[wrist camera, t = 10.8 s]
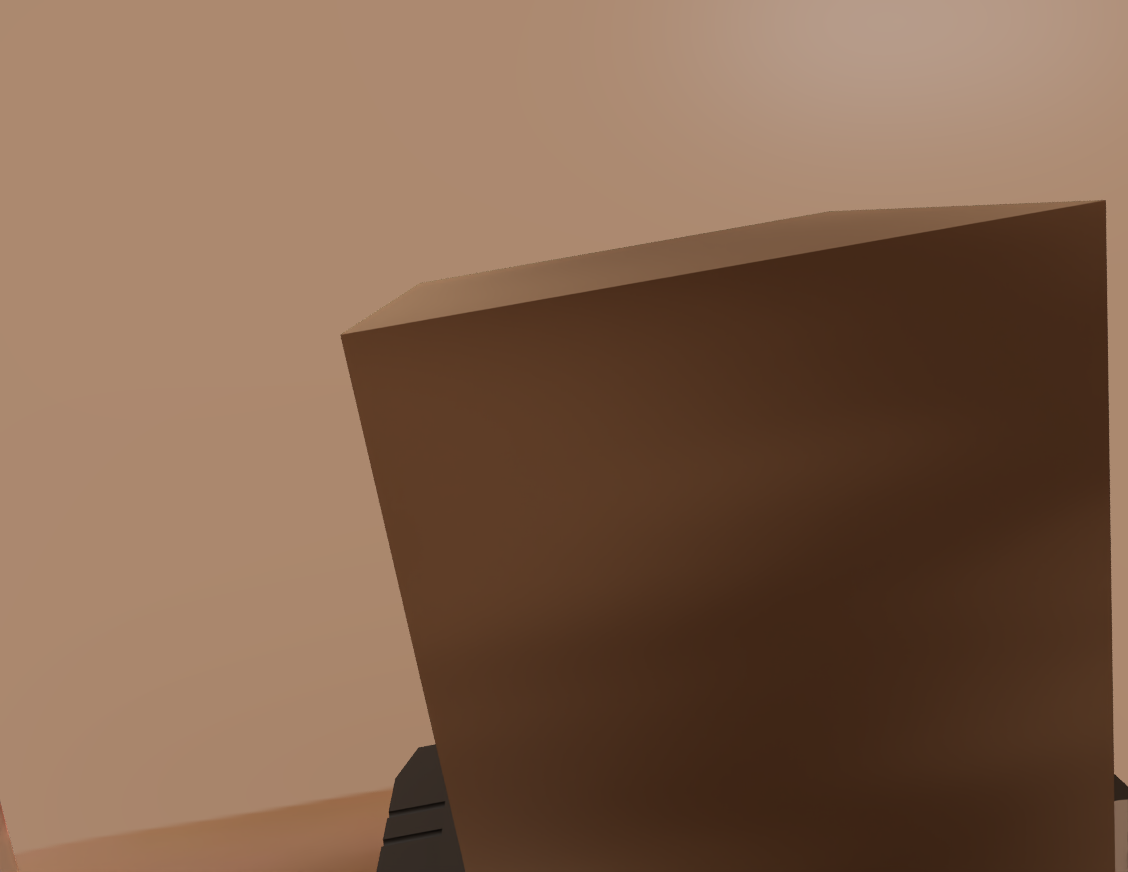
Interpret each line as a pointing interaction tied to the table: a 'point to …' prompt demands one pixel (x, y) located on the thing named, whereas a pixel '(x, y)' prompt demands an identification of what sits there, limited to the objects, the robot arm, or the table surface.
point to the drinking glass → (6, 848)
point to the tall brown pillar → (763, 544)
